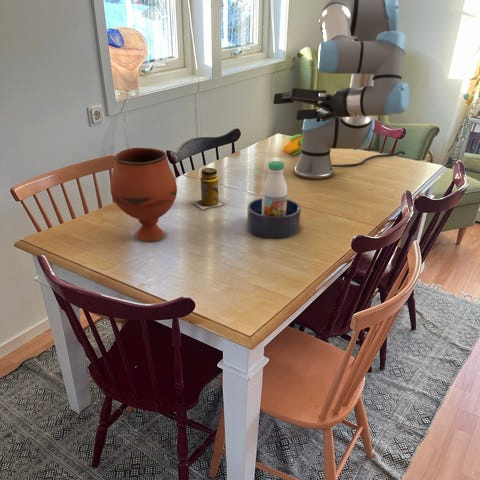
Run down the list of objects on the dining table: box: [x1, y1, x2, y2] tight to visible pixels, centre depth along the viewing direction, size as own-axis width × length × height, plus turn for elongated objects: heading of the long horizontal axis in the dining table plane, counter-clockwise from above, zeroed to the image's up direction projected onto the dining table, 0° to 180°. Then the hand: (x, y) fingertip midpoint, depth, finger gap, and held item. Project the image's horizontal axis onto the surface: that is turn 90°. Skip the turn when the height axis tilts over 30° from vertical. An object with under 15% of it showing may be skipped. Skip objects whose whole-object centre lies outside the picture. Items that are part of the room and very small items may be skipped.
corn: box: [282, 133, 303, 156], centre depth 218 cm, size 7×8×20 cm
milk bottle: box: [261, 160, 288, 217], centre depth 147 cm, size 8×8×20 cm
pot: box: [246, 197, 302, 240], centre depth 152 cm, size 17×17×7 cm
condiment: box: [192, 167, 224, 210], centre depth 166 cm, size 7×8×12 cm
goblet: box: [109, 147, 178, 243], centre depth 141 cm, size 19×19×25 cm
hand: (286, 107), depth 145 cm, fingers open, 13 cm apart
